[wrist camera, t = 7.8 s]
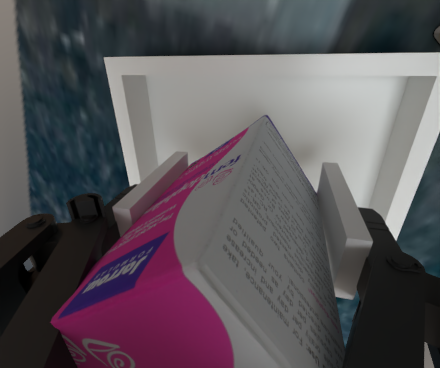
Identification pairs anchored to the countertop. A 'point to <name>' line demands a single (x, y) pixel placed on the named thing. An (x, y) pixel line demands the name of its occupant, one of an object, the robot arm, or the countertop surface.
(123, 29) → the countertop surface
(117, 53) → the countertop surface
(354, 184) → the tray
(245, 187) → the supplement box
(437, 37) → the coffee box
